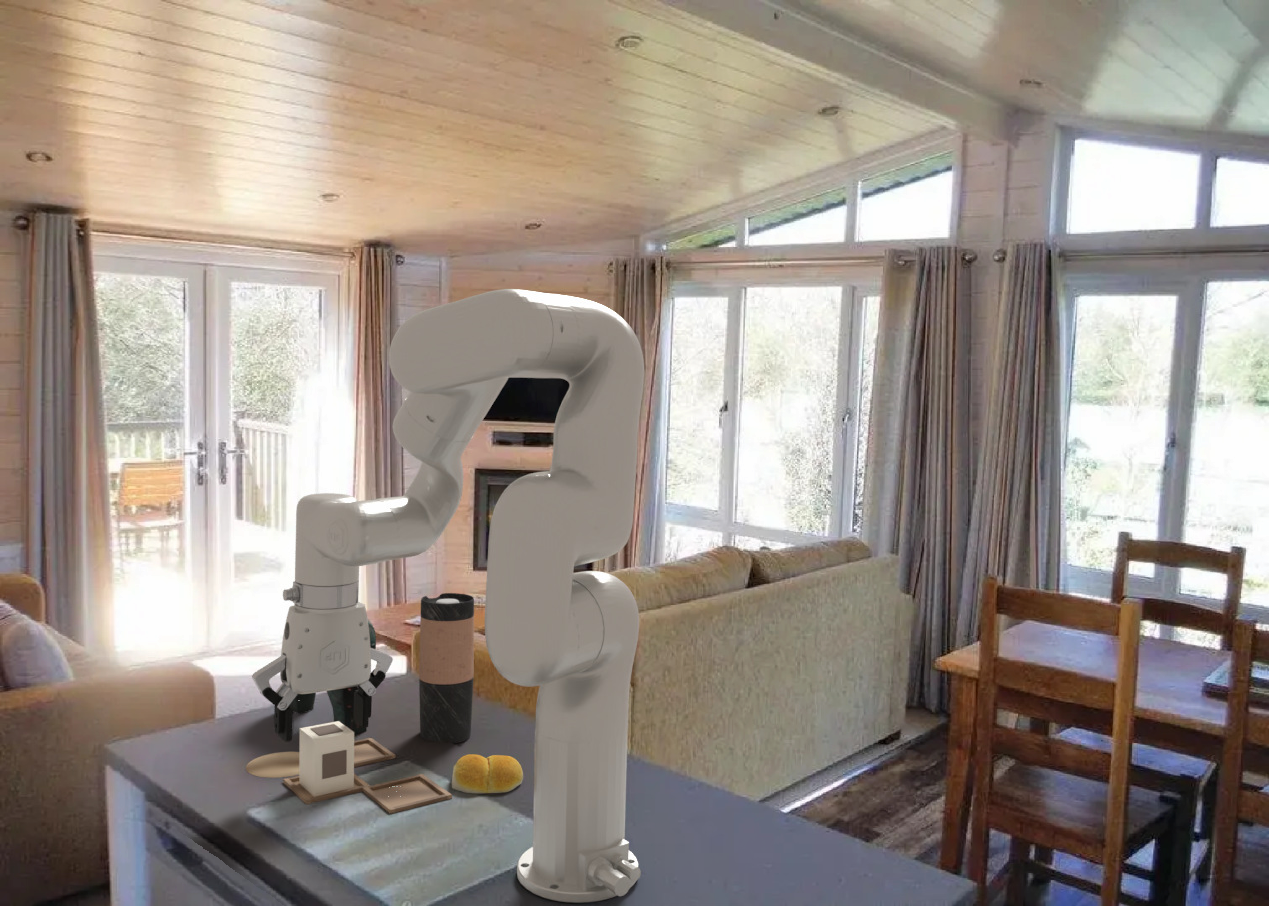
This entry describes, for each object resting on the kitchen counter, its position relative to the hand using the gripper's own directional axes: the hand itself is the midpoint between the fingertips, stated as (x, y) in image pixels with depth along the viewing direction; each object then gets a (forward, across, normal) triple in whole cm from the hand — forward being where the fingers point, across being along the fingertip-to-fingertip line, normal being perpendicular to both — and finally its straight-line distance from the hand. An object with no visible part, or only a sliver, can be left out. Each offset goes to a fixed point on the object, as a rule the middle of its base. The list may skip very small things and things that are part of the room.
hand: (323, 731), depth 127 cm
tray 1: (+7, 0, -1) cm, 7 cm away
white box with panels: (+7, 0, -1) cm, 7 cm away
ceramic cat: (+8, +9, +23) cm, 26 cm away
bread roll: (+7, +17, -10) cm, 21 cm away
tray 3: (+7, +7, -9) cm, 13 cm away
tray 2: (+7, +7, +7) cm, 13 cm away
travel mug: (+7, +21, +8) cm, 24 cm away
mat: (+7, -2, +9) cm, 12 cm away
